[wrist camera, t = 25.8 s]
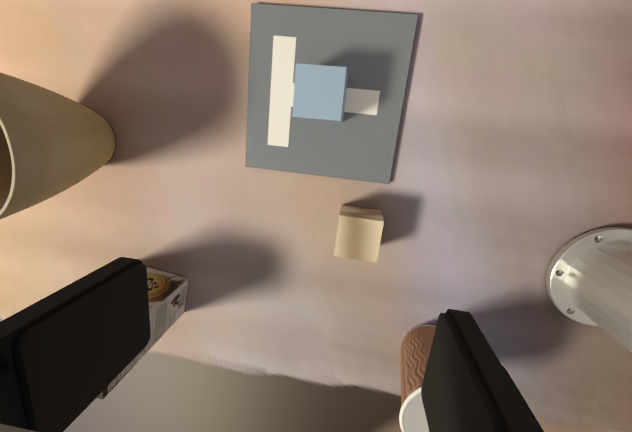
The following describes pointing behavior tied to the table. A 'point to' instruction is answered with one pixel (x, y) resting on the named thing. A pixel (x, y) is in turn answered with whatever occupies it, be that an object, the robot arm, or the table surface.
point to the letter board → (361, 95)
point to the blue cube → (320, 92)
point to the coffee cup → (414, 377)
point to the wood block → (359, 233)
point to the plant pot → (45, 144)
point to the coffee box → (158, 311)
